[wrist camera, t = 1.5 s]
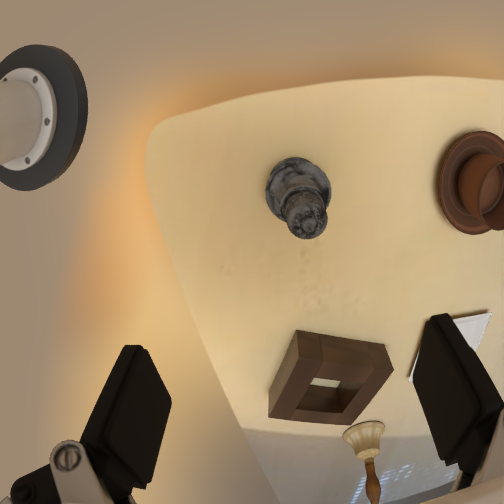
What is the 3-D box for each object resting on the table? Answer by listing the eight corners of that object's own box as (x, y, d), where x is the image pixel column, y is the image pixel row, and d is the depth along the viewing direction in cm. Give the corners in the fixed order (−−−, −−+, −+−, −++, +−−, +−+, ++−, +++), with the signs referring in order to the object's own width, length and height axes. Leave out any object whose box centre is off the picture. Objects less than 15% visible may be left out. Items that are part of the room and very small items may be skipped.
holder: (268, 391, 45) (268, 417, 40) (296, 329, 39) (298, 357, 34) (346, 400, 45) (350, 425, 41) (384, 344, 40) (394, 370, 35)
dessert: (488, 307, 37) (503, 327, 32) (465, 364, 42) (476, 384, 38) (424, 318, 38) (437, 341, 33) (405, 377, 43) (414, 399, 39)
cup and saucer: (501, 120, 25) (534, 129, 20) (510, 212, 30) (538, 232, 25) (422, 141, 28) (452, 151, 22) (439, 240, 33) (464, 266, 27)
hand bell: (362, 445, 53) (373, 511, 38) (333, 437, 51) (342, 510, 37) (392, 425, 49) (410, 495, 35) (365, 416, 48) (381, 494, 33)
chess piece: (255, 168, 30) (248, 207, 20) (311, 145, 29) (337, 171, 18) (279, 220, 33) (285, 282, 22) (333, 198, 31) (365, 252, 21)
